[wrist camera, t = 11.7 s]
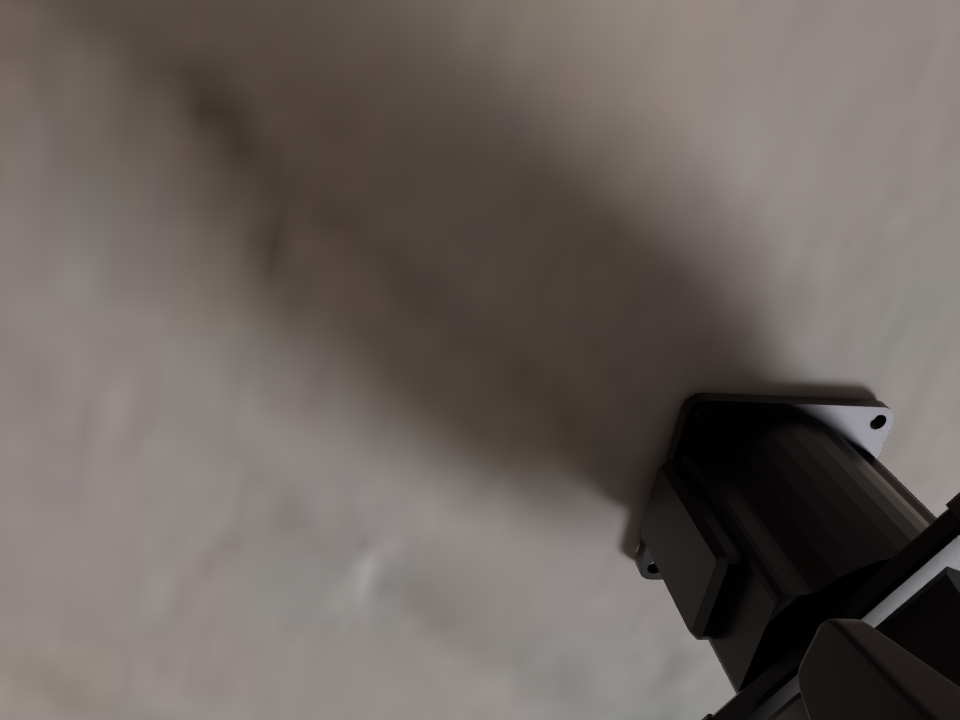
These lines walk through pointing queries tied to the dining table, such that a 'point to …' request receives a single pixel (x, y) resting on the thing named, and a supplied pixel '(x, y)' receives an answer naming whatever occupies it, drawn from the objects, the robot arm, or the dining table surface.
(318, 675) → the dining table surface
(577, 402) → the dining table surface
